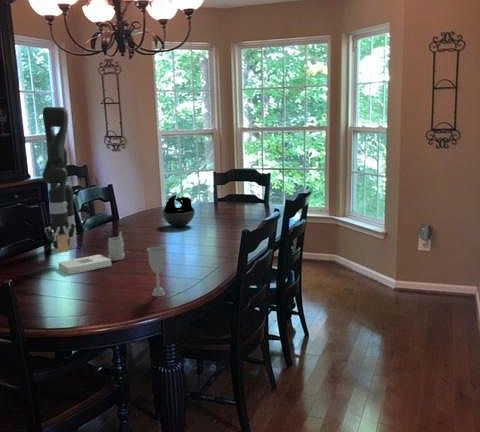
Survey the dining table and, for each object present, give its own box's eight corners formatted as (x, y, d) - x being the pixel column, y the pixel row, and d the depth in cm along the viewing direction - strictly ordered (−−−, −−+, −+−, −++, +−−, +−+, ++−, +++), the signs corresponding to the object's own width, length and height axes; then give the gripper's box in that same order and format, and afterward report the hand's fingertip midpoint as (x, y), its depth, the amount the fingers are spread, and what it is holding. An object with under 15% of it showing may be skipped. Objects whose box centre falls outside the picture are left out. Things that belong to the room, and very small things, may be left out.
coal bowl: (193, 229, 308) (192, 199, 305) (160, 230, 309) (158, 199, 305) (196, 223, 328) (195, 193, 324) (165, 223, 328) (164, 194, 325)
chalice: (168, 290, 201) (167, 246, 198) (167, 296, 195) (165, 251, 191) (150, 291, 201) (147, 246, 198) (147, 297, 195) (145, 251, 191)
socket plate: (58, 268, 233) (58, 262, 232) (100, 260, 246) (99, 254, 245) (69, 274, 224) (68, 268, 223) (111, 265, 237) (111, 259, 236)
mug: (105, 260, 246) (104, 236, 243) (116, 253, 257) (114, 230, 255) (120, 261, 244) (119, 236, 242) (130, 254, 256) (129, 231, 253)
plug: (55, 251, 239) (53, 233, 237) (64, 249, 242) (63, 231, 240) (58, 253, 235) (57, 235, 233) (68, 251, 238) (67, 233, 236)
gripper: (70, 208, 242) (73, 243, 245) (39, 212, 233) (43, 248, 236) (76, 210, 236) (79, 246, 240) (45, 214, 227) (48, 252, 231)
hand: (61, 247), depth 238 cm, fingers closed on plug, 4 cm apart
